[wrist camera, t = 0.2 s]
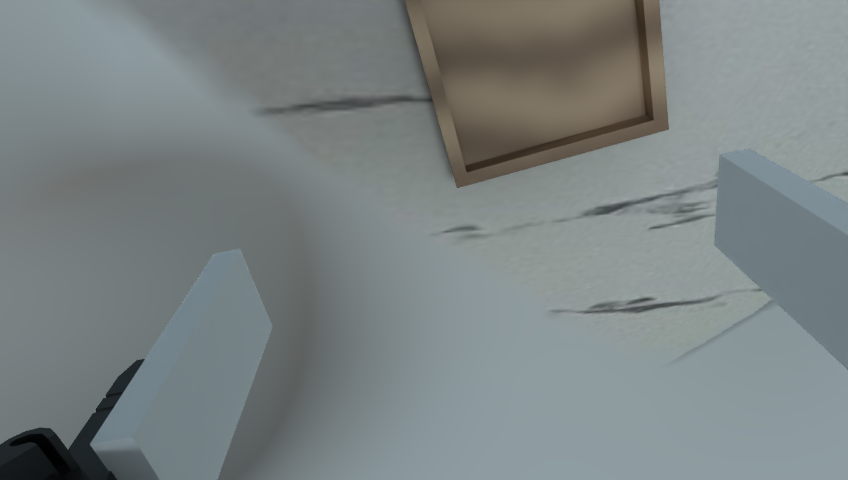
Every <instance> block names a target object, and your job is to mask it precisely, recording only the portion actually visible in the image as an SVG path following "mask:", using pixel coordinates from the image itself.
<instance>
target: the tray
mask: <svg viewBox="0 0 848 480" xmlns="http://www.w3.org/2000/svg"><path fill="white" fill-rule="evenodd" d="M405 3H406V7H407V10H408V14H409V18H410V21H411V25H412V28H413V32H414V36H415V39H416V43H417V46H418V50H419V53H420V57H421V61H422V64H423V68H424V71H425V75H426V79H427V82H428V86H429V89H430V93H431V96H432V100H433V104H434V107H435V111H436V114H437V118H438V122H439V125H440V129H441V132H442V136H443V139H444V143H445V147H446V150H447V154H448V157H449V161H450V164H451V168H452V172H453V175H454V179H455V182H456V186H457V188H459V187H463V186H466V185H470V184H474V183H477V182H481V181H484V180H488V179H492V178H495V177H499V176H502V175H506V174H510V173H513V172H517V171H520V170H524V169H528V168H531V167H535V166H539V165H542V164H546V163H549V162H553V161H557V160H560V159H564V158H567V157H571V156H575V155H578V154H582V153H585V152H589V151H593V150H596V149H600V148H603V147H607V146H611V145H614V144H618V143H622V142H625V141H629V140H632V139H636V138H640V137H643V136H647V135H650V134H654V133H658V132H661V131H665V130H668V129H669V126H668V113H667V100H666V86H665V73H664V60H663V46H662V33H661V20H660V7H659V0H405Z"/></svg>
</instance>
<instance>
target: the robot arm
mask: <svg viewBox="0 0 848 480" xmlns="http://www.w3.org/2000/svg"><path fill="white" fill-rule="evenodd" d="M714 245H715V246H716V247H717V248H718V249H719V250H720V251H721V252H722V253H723V254H724V255H725V256H727V257H728V258H729V259H730V260H731V261H732V262H733V263H734V264H735V265H736V266H737V267H738V268H739V269H740V270H742V271H743V272H744V273H745V274H746V275H747V276H748V277H749V278H750V279H751V280H752V281H753V282H754V283H755V284H757V285H758V286H759V287H760V288H761V289H762V290H763V291H764V292H765V293H766V294H767V295H768V296H769V297H770V298H771V299H773V300H774V301H775V302H776V303H777V304H778V305H779V306H780V307H781V308H782V309H783V310H784V311H785V312H787V313H788V314H789V315H790V316H791V317H792V318H793V319H794V320H795V321H796V322H797V323H798V324H800V325H801V327H803V328H804V329H805V330H806V331H807V332H808V333H809V334H810V335H811V336H812V337H813V338H814V339H816V341H818V342H819V343H820V344H821V345H822V346H823V347H824V348H825V349H826V350H827V351H828V352H829V353H830V354H831V355H833V356H834V357H835V358H836V359H837V360H838V361H839V362H840V363H841V364H842V365H843V366H844V367H846V368H847V370H848V203H846V202H845V201H843V200H841V199H839V198H837V197H836V196H834V195H832V194H830V193H828V192H827V191H825V190H823V189H821V188H819V187H818V186H816V185H814V184H812V183H810V182H809V181H807V180H805V179H803V178H801V177H800V176H798V175H796V174H794V173H792V172H791V171H789V170H787V169H785V168H783V167H782V166H780V165H778V164H776V163H775V162H773V161H771V160H769V159H767V158H766V157H764V156H762V155H760V154H758V153H757V152H755V151H753V150H751V149H744V150H739V151H734V152H729V153H724V154H720V155H719V172H718V189H717V206H716V223H715V240H714ZM271 330H272V325H271V322H270V320H269V317H268V315H267V313H266V310H265V308H264V306H263V303H262V301H261V298H260V296H259V294H258V291H257V289H256V286H255V284H254V281H253V279H252V277H251V274H250V272H249V269H248V267H247V265H246V262H245V260H244V257H243V255H242V252H241V250H240V249H236V250H230V251H226V252H221V253H215V254H213V256H212V257H211V259H210V260H209V262H208V263H207V265H206V266H205V268H204V269H203V271H202V273H201V274H200V276H199V277H198V279H197V280H196V282H195V283H194V285H193V286H192V288H191V290H190V291H189V293H188V294H187V296H186V297H185V299H184V300H183V302H182V303H181V305H180V306H179V308H178V309H177V311H176V313H175V314H174V316H173V317H172V319H171V320H170V322H169V323H168V325H167V326H166V328H165V329H164V331H163V332H162V334H161V336H160V337H159V339H158V340H157V342H156V343H155V345H154V346H153V348H152V349H151V351H150V352H149V354H148V356H147V357H146V359H142V360H137V361H136V362H134V363H133V364H132V365H131V366H130V367H129V368H128V369H127V370H126V371H124V372H123V373H122V374H121V375H120V376H119V377H118V378H117V379H116V381H115V382H114V384H113V385H112V387H111V388H110V390H109V391H108V392H107V394H106V398H103V400H102V401H101V403H100V404H99V405H98V407H97V408H96V413H93V414H92V416H91V417H90V419H89V420H88V422H87V423H86V424H85V426H84V427H83V429H82V430H81V432H80V433H79V435H78V436H77V438H76V439H75V440H74V442H73V443H72V445H71V446H70V448H69V449H68V450H67V448H66V447H65V445H64V444H63V443H62V441H61V440H60V439H59V437H58V436H57V435H56V434H55V432H53V430H51V429H50V428H37V429H33V430H29V431H25V432H23V433H21V434H19V435H16V436H14V437H12V438H10V439H8V440H7V441H5V442H4V443H2V444H1V445H0V480H217V479H218V476H219V473H220V470H221V467H222V465H223V462H224V459H225V457H226V453H227V451H228V448H229V445H230V442H231V440H232V437H233V434H234V432H235V429H236V426H237V423H238V421H239V418H240V415H241V412H242V410H243V407H244V404H245V401H246V398H247V396H248V393H249V390H250V388H251V385H252V382H253V379H254V377H255V374H256V371H257V368H258V366H259V363H260V360H261V357H262V354H263V352H264V349H265V346H266V343H267V341H268V338H269V335H270V332H271Z"/></svg>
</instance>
